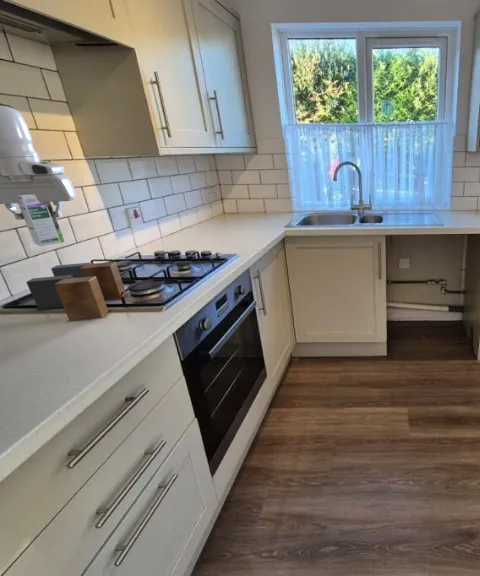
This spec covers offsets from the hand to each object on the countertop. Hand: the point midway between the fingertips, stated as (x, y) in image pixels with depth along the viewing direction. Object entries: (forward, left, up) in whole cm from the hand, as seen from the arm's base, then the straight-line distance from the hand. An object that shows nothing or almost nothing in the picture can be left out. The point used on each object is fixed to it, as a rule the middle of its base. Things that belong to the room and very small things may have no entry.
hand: (40, 218), depth 104 cm
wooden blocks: (+12, -10, -25) cm, 30 cm away
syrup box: (0, 0, -8) cm, 8 cm away
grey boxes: (0, 0, -25) cm, 25 cm away
